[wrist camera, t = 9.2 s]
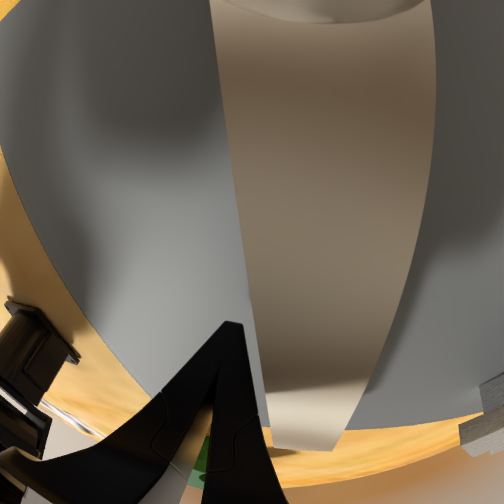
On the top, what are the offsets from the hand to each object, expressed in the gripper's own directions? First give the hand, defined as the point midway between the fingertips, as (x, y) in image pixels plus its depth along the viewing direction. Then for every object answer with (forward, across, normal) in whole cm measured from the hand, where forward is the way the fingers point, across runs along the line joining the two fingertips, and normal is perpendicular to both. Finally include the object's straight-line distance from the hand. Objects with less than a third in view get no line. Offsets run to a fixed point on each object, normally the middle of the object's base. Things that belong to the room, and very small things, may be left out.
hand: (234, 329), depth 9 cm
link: (+1, -2, -3) cm, 4 cm away
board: (+2, -5, -2) cm, 5 cm away
